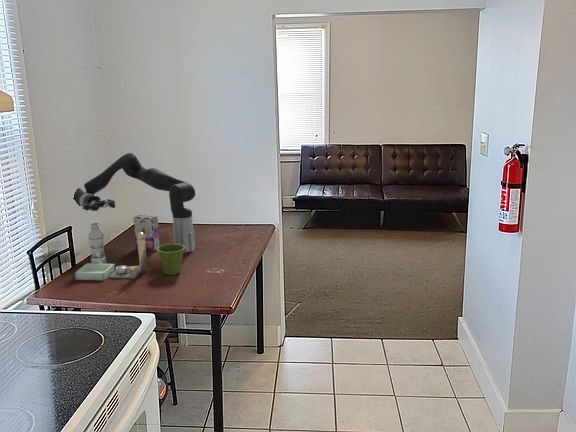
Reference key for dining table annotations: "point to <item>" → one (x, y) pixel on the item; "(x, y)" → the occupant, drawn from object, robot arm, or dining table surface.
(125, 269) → the beige silver l-shaped piece
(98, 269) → the tray
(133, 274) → the stop block
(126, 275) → the base
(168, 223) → the dining table surface
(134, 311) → the dining table surface
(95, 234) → the plastic bottle
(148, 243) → the candy bar box
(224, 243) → the dining table surface
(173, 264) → the plant pot
